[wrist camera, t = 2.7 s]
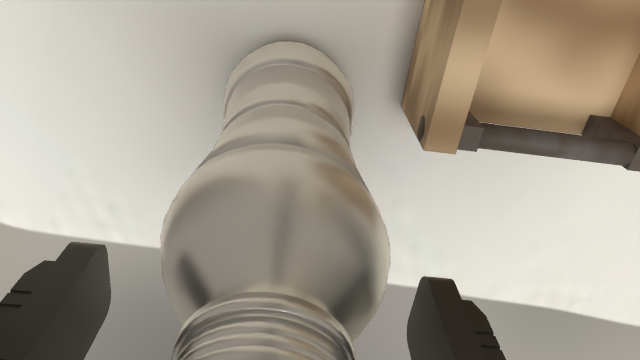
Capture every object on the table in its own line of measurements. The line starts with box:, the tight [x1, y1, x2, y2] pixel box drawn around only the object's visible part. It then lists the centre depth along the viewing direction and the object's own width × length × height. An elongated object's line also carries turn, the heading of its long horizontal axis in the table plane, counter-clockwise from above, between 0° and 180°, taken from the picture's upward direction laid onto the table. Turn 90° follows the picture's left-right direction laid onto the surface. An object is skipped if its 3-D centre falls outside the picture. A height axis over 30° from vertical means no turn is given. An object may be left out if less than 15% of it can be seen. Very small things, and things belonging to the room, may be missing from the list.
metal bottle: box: [161, 41, 390, 360], centre depth 17 cm, size 6×7×20 cm
